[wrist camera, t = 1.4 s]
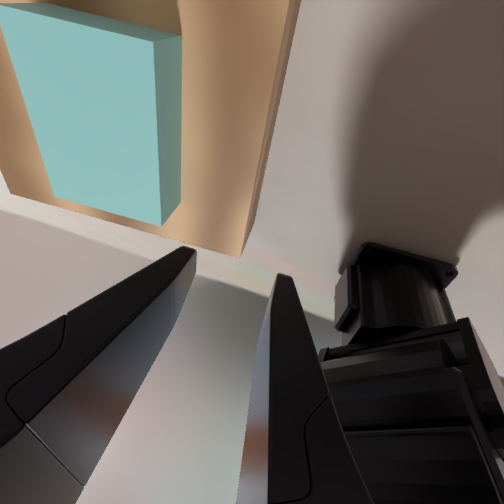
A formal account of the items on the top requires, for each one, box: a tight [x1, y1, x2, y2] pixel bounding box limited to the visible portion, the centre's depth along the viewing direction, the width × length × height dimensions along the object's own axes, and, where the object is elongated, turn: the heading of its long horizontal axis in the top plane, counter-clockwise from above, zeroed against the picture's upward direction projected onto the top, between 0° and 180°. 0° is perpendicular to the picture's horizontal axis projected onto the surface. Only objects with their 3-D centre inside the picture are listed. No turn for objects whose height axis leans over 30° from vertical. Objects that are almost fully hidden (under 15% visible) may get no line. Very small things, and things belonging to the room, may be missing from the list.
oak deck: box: [0, 0, 301, 258], centre depth 17 cm, size 16×14×4 cm
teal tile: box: [0, 3, 182, 227], centre depth 14 cm, size 6×8×2 cm
